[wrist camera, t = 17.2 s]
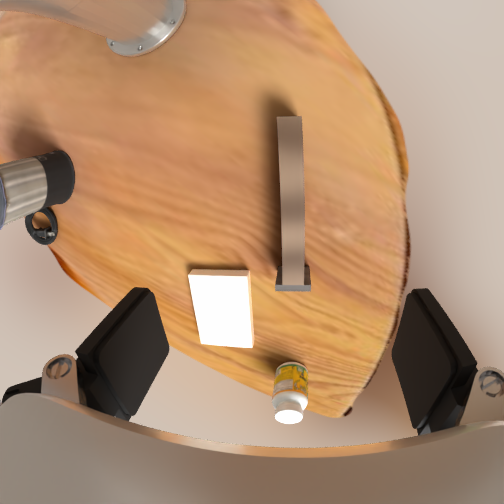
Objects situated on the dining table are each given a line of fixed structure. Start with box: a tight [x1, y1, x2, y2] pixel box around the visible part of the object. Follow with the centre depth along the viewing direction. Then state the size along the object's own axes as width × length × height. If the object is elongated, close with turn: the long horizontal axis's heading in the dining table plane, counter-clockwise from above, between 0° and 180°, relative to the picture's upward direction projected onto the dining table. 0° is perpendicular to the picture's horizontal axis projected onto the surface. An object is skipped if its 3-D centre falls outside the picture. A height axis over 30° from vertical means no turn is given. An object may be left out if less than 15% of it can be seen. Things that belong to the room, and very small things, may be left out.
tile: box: [188, 269, 254, 348], centre depth 38 cm, size 2×8×12 cm
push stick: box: [275, 116, 311, 291], centre depth 29 cm, size 19×4×5 cm, turn 3°
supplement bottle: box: [272, 362, 308, 424], centre depth 38 cm, size 5×5×10 cm
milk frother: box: [0, 151, 75, 245], centre depth 30 cm, size 14×16×15 cm
